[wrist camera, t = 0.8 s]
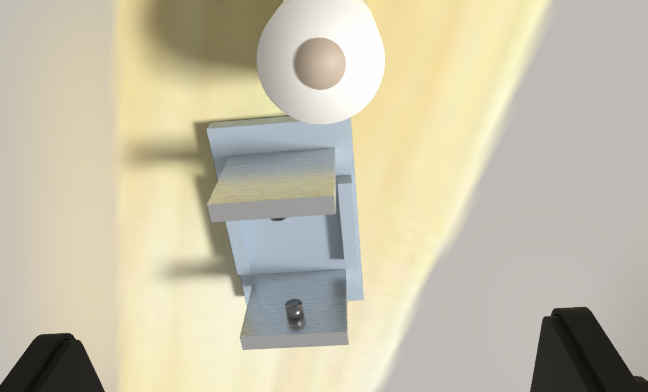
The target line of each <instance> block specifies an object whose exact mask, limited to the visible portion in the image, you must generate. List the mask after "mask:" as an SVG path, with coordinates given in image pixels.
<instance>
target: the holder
mask: <svg viewBox="0 0 648 392" xmlns="http://www.w3.org/2000/svg"><path fill="white" fill-rule="evenodd" d="M206 130H207V134H208V138H209V143H210V147H211V152H212V156H213V160H214V165H215V169H216V173H217V178H218V180H219V178H220V176H221V173H222V171H223V169H224V167H225V165H226V163H227V161H228V158H229V156H230V155H243V154H256V153H269V152H282V151H295V150H308V149H321V148H334V147H335V154H336V214H331V215H316V216H301V217H287V218H286V219H284V220H282V221H272V220H270V219H256V220H241V221H226V226H227V231H228V235H229V239H230V243H231V248H232V252H233V256H234V261H235V265H236V269H237V274H238V275H240V278H241V283H242V287H243V291H244V296H245V300H246V304H247V305H248V301H249V297H250V292H251V288H252V284H253V280H254V276H255V274H270V273H287V272H304V271H321V270H338V269H346V274H347V298H348V301H353V300H364V297H363V282H362V268H361V254H360V240H359V226H358V212H357V198H356V184H355V170H354V156H353V143H352V129H351V117H350V118H348V119H346V120H343V121H340V122H337V123H332V124H310V123H306V122H302V121H299V120H297V119H294V118H293V117H291V116H283V117H271V118H259V119H247V120H235V121H222V122H210V124H209V126H208V127H207V129H206Z"/></svg>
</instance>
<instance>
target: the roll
mask: <svg viewBox="0 0 648 392" xmlns="http://www.w3.org/2000/svg"><path fill="white" fill-rule="evenodd" d="M384 67H385V56H384V48H383V44H382V40H381V37H380V35H379V32H378V29H377V26H376V24H375V21H374V18H373V15H372V13H371V10H370V7H369V5H368V3H367V1H366V0H283V2H282V3H281V5H280V6H279V7H278V9H277V10H276V12H275V13H274V15H273V16H272V17H271V19H270V20H269V22H268V23H267V25H266V26H265V28H264V30H263V32H262V34H261V37H260V40H259V43H258V48H257V71H258V75H259V79H260V81H261V84H262V86H263V88H264V90H265V92H266V94H267V95H268V97H269V98H270V100H271V101H272V102H273V103H274V104H275V105H276V106H277V107H278V108H279V109H280V110H281V111H283V112H284V113H286V114H287V115H289V116H291V117H293V118H294V119H297V120H299V121H302V122H306V123H310V124H332V123H337V122H340V121H343V120H346V119H348V118H350V117H352V116H354V115H355V114H357V113H358V112H359V111H361V110H362V109H363V108H364V107H365V106H366V105H367V104H368V103H369V102H370V101H371V100H372V98H373V97H374V95H375V94H376V92H377V90H378V88H379V86H380V84H381V81H382V77H383V73H384Z"/></svg>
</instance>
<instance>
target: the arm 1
mask: <svg viewBox="0 0 648 392" xmlns="http://www.w3.org/2000/svg"><path fill="white" fill-rule="evenodd" d="M207 207H208V211H209V215H210V219H211V222H226V221H241V220H256V219H270V220H272V221H282V220H284V219H286V218H287V217H301V216H316V215H331V214H336V154H335V147H334V148H321V149H308V150H295V151H282V152H269V153H256V154H243V155H230V156H229V158H228V161H227V163H226V165H225V167H224V169H223V171H222V173H221V176H220V178H219V180H218V182H217V184H216V186H215V188H214V191H213V193H212V195H211V197H210V199H209V201H208V203H207Z"/></svg>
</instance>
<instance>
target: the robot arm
mask: <svg viewBox="0 0 648 392" xmlns="http://www.w3.org/2000/svg"><path fill="white" fill-rule="evenodd" d="M0 392H105V391H104V389H103V387H102V385H101V382H100V380H99V378H98V376H97V374H96V372H95V370H94V368H93V365H92V363H91V361H90V359H89V357H88V355H87V353H86V350H85V348H84V346H83V344H82V343H81V341H79V340H76V339H75V338H74V336H73V335H72V334H70V333H59V334H41V335H39V336H37V337H36V338H35V339H34V340H33V341H32V343H31V344H30V345H29V347H28V348H27V349H26V351H25V352H24V354H23V355H22V356H21V358H20V359H19V360H18V362H17V363H16V365H15V366H14V367H13V368H12V370H11V371H10V373H9V374H8V375H7V377H6V378H5V379H4V381H3V382H2V384H1V385H0ZM530 392H648V381H647V380H645V379H644V378H643V377H639V376H633V375H632V373H631V372H630V371H629V369H628V367H627V366H626V364H625V363H624V361H623V360H622V358H621V357H620V355H619V353H618V352H617V350H616V349H615V347H614V346H613V344H612V343H611V341H610V340H609V338H608V337H607V335H606V334H605V332H604V330H603V329H602V327H601V326H600V324H599V323H598V321H597V320H596V318H595V317H594V315H593V314H592V312H591V311H590V310H589V309H588V308H587V307H573V308H555V309H553V311H552V314H551V316H548V317H547V316H546V317H544V318H543V321H542V326H541V333H540V338H539V343H538V349H537V355H536V361H535V367H534V373H533V379H532V384H531V391H530Z"/></svg>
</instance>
